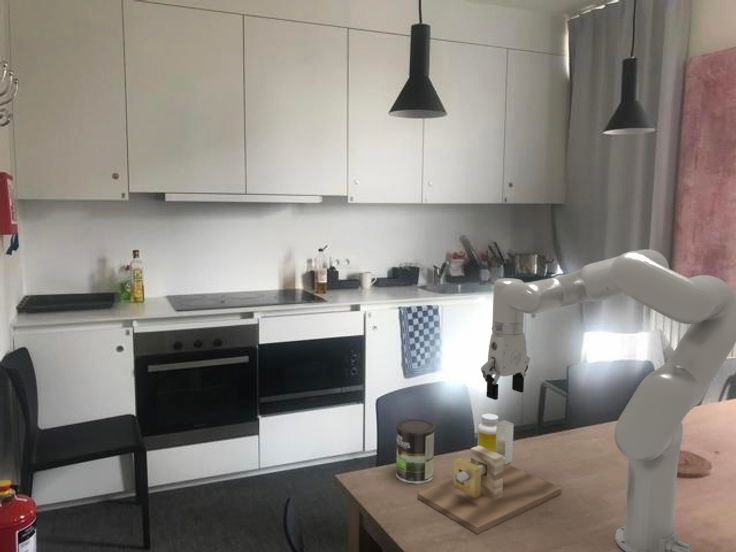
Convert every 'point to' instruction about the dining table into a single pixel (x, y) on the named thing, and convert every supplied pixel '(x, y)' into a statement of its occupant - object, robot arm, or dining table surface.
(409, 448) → the coffee can
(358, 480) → the dining table surface
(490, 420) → the supplement bottle
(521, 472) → the bearing stand
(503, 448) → the crank handle
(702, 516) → the dining table surface
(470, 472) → the frame
